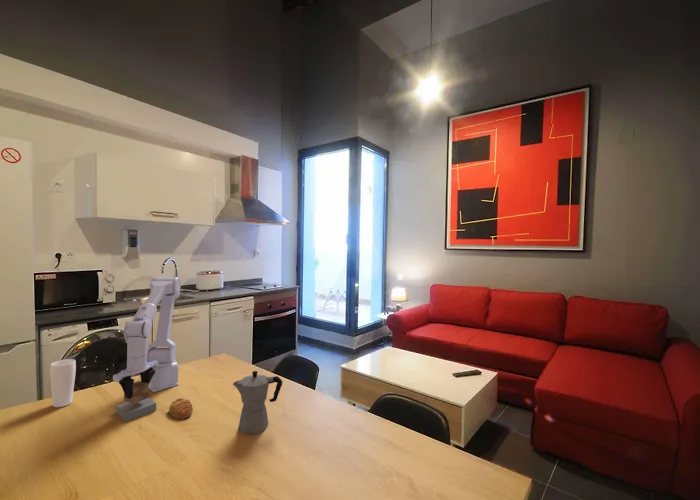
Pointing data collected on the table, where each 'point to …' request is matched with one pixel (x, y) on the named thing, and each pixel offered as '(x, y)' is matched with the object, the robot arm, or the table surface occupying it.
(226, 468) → the table surface
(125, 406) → the block
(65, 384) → the drinking glass
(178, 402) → the pastry
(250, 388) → the coffeepot
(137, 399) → the walnut cube
